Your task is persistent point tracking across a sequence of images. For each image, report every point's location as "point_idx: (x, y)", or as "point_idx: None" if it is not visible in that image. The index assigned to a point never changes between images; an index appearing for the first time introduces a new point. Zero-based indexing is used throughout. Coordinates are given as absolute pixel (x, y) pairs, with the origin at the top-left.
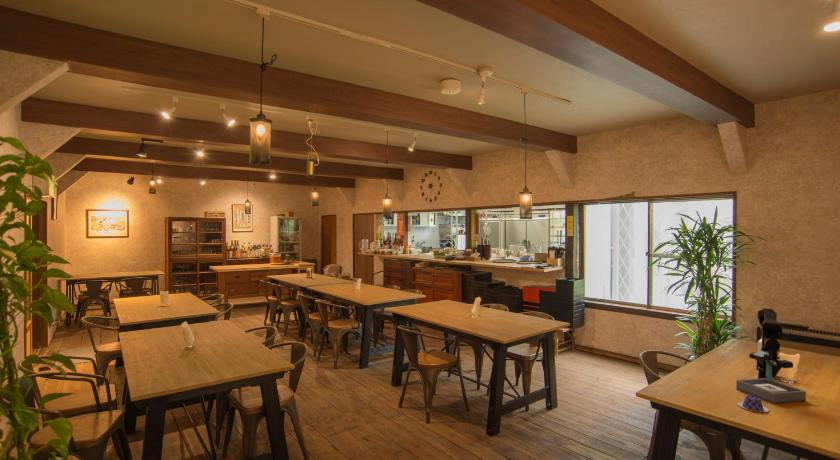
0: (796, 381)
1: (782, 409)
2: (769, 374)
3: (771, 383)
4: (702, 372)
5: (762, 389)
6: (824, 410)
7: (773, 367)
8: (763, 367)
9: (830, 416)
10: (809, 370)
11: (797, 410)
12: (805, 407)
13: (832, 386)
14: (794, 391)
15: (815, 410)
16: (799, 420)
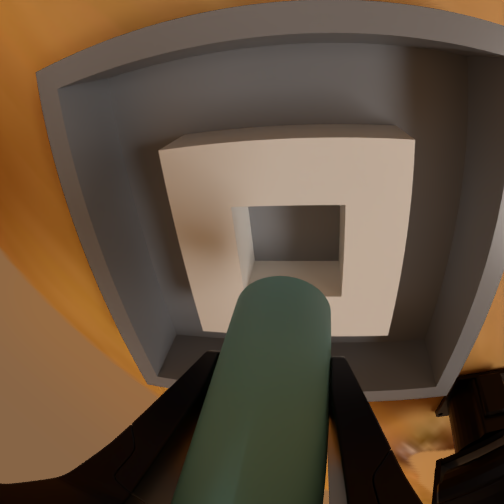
0: (402, 465)
1: (26, 60)
2: (230, 363)
3: (395, 369)
4: None
5: (149, 32)
6: (61, 296)
7: (68, 494)
8: (378, 473)
9: (4, 249)
10: (427, 501)
11: (23, 149)
12: (73, 243)
13: (326, 489)
14: (128, 324)
15: (47, 254)
16: None
